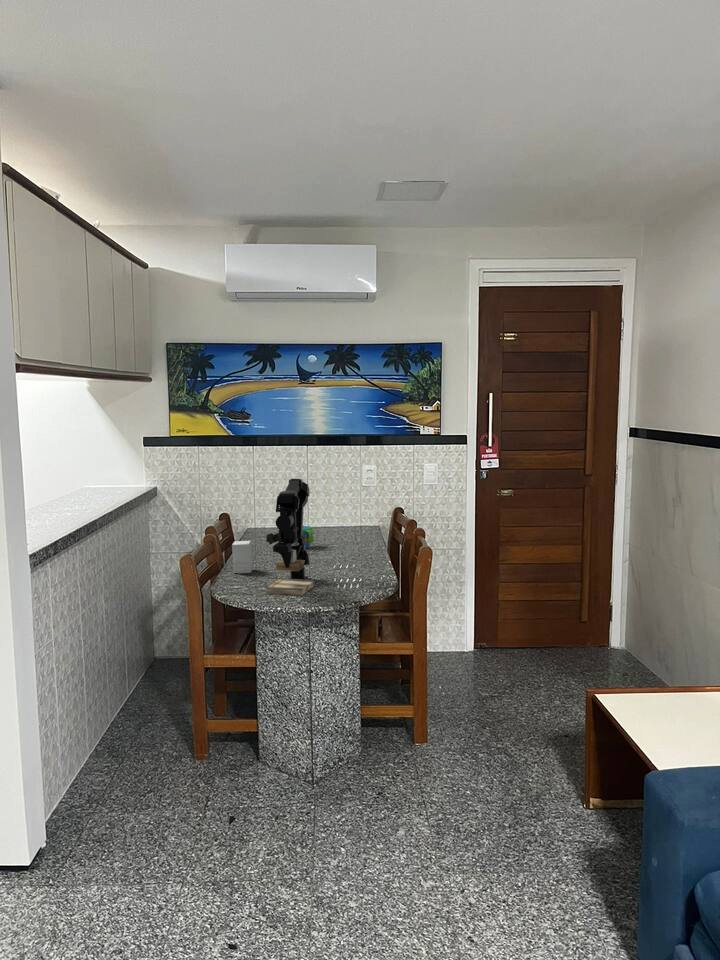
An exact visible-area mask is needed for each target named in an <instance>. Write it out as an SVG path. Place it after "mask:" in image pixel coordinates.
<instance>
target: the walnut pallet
mask: <svg viewBox="0 0 720 960" xmlns="http://www.w3.org/2000/svg"><path fill="white" fill-rule="evenodd" d="M304 561H305V560H296V561H295V562H294V563H290V565H289V568H286V567H285V564H284V562H283V558H281V559H279V560H278V561H276V562H275V564H276V565H275V566H276V568H275V569H276V571H283V572H284V571H286V572H290V571H300V570H301V569H302V568H305V565H304Z"/></svg>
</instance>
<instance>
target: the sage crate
mask: <svg viewBox="0 0 720 960" xmlns="http://www.w3.org/2000/svg"><path fill="white" fill-rule="evenodd" d="M295 561H296V550H293V554H292V558H291V561H290V563H294V562H295ZM283 562H284V561H283Z"/></svg>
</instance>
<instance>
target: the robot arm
mask: <svg viewBox="0 0 720 960" xmlns="http://www.w3.org/2000/svg"><path fill="white" fill-rule="evenodd" d="M310 493H311V492H310V486H309V484H308V483H306V482H305V481H303V479H302V478H290V479H288V484H287V486H286V488H285V489H284V490H283V491H280V492H279V493H278V495H277V496H276V504H275V505H276V506H275V513H279V516H277V517H276V520H275V526H276V528H277V529H278V532H276V533H273V532H271V533H268V534H266V537H265V538H266V539H265V541H266V542H267V543H268V544H269V546H271V545H273V544H274V543H275V544H274V545H273V546H272V553H278V554H279V555H280V556H281V559H283V561H284V564H285V567H286V568H289V565H290V561H291V558H292V554H293V550H296V560H304V566H307V565H310V556H309V553H308V550H307V549H306V548H305V546H304V544H303V543H305V537H304V536H302V533H303V526H304V508H305V506H306V504H308V500H309V497H310ZM305 571H306V570H305V567H304V568H302V569H301V570H300V571H289V572H290V577H288V579H302V580H307V579H308V577H309V576H307V575H305Z"/></svg>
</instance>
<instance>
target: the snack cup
mask: <svg viewBox="0 0 720 960" xmlns="http://www.w3.org/2000/svg"><path fill="white" fill-rule="evenodd" d="M312 529H313V527H312V526H309V525H303V533H302V536H304V537H305V543H303V544H304V546H305V548H306V550H307V549H309V548H310V546H311V545H310V544H312V543H314V541H315V538H314V535H313V532H312Z"/></svg>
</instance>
